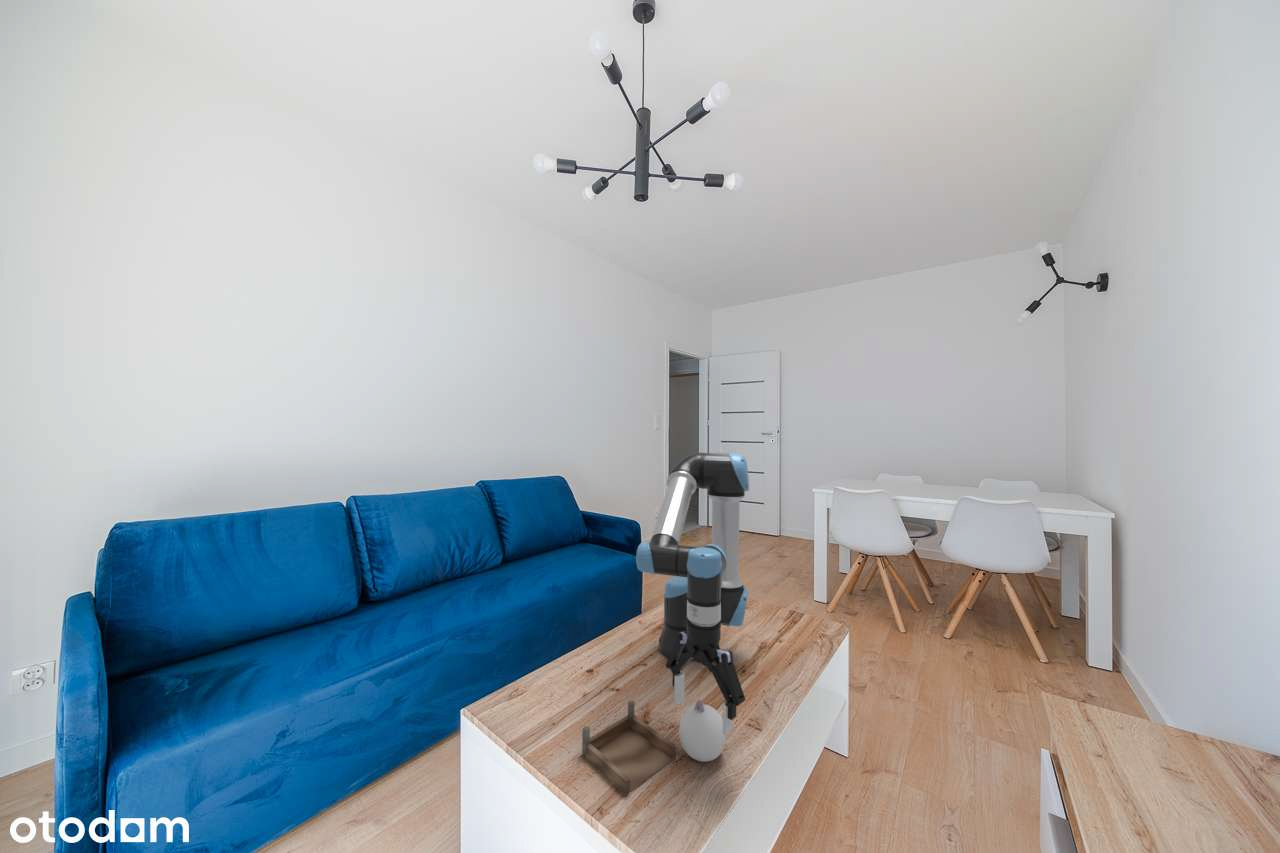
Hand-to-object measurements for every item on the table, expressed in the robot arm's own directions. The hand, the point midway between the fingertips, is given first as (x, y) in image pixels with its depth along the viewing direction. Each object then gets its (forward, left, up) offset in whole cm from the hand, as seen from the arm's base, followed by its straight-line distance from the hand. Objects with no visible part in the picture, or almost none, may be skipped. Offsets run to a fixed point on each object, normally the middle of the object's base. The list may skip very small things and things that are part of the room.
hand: (702, 716), depth 96 cm
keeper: (-11, -12, -9) cm, 18 cm away
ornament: (0, 0, -9) cm, 9 cm away
